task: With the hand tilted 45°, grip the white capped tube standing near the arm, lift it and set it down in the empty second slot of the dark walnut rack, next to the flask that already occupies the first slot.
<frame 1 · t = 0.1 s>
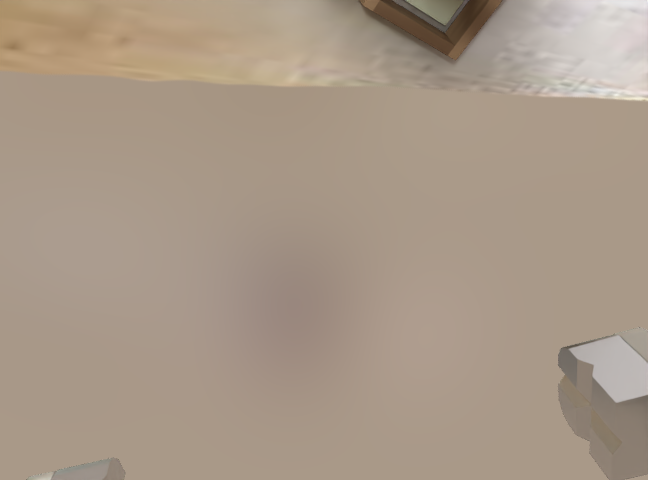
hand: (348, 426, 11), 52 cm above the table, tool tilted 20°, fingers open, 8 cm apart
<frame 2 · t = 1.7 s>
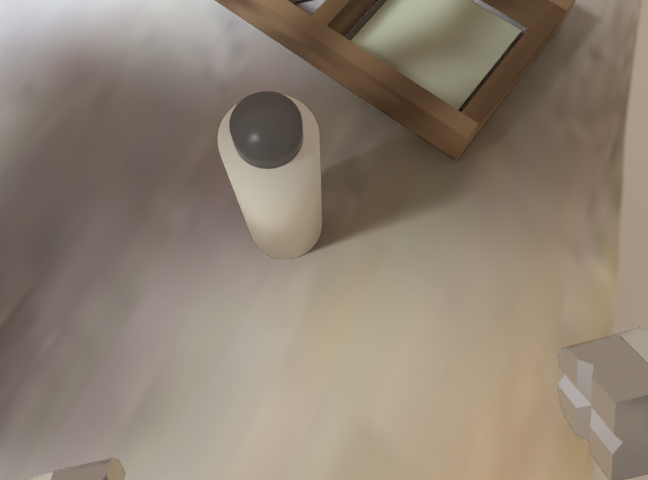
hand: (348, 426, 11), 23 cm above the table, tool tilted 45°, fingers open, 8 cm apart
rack: (364, 1, 41), on the table
white capped tube: (285, 224, 36), on the table
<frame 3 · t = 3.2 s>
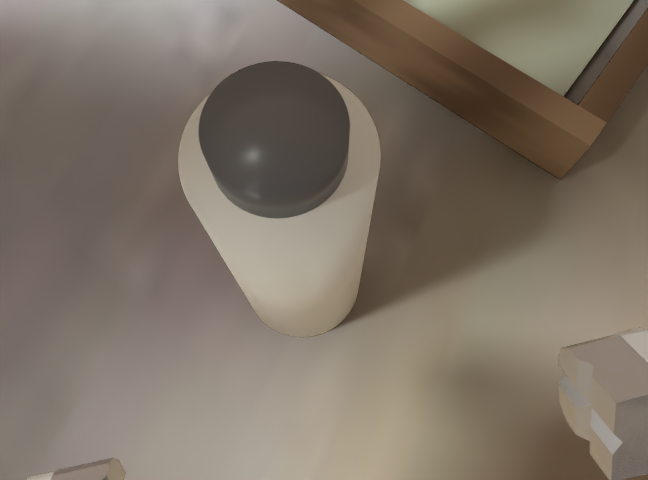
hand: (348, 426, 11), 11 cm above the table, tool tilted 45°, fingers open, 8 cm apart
white capped tube: (302, 281, 23), on the table
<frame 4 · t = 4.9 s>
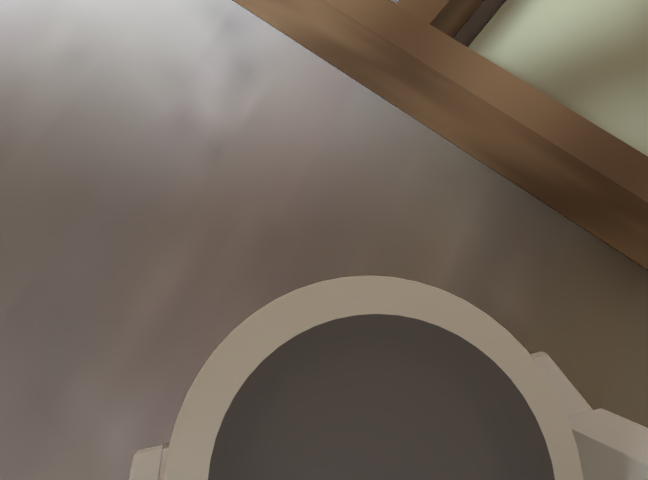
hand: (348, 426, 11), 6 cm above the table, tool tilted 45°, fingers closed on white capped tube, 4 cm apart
white capped tube: (349, 454, 17), on the table, touching gripper
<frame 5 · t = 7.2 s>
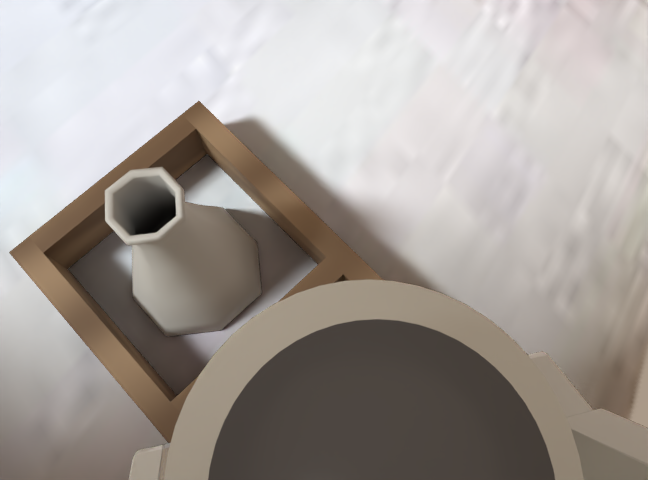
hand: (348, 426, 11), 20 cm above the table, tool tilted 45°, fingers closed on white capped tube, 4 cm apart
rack: (265, 345, 31), on the table
flask: (197, 272, 33), on the table
white capped tube: (349, 456, 17), point 14 cm above the table, touching gripper
when the fingers open (8 cm above the table, at t = 9.9 s): white capped tube drops 1 cm, resting on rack.
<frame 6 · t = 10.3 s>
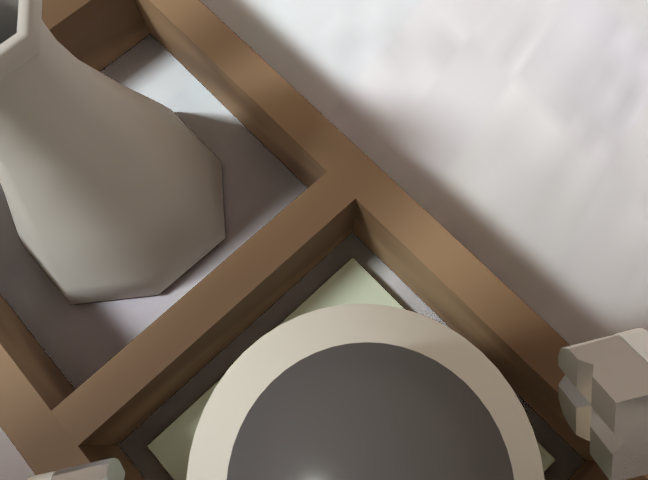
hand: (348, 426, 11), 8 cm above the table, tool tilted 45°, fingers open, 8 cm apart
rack: (229, 319, 19), on the table
flask: (128, 206, 21), on the table
white capped tube: (347, 455, 18), resting on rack
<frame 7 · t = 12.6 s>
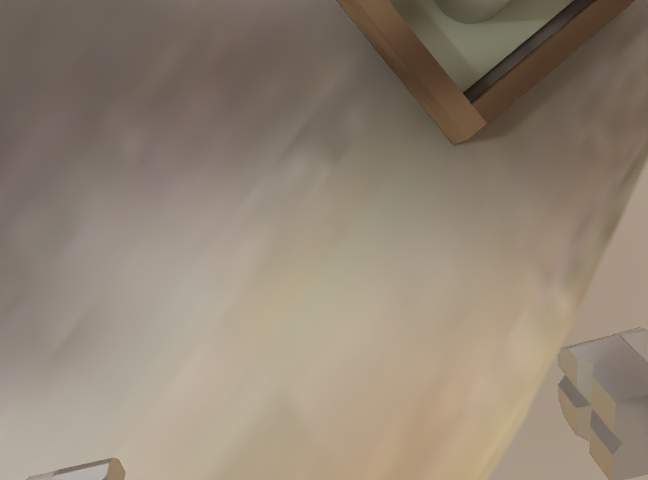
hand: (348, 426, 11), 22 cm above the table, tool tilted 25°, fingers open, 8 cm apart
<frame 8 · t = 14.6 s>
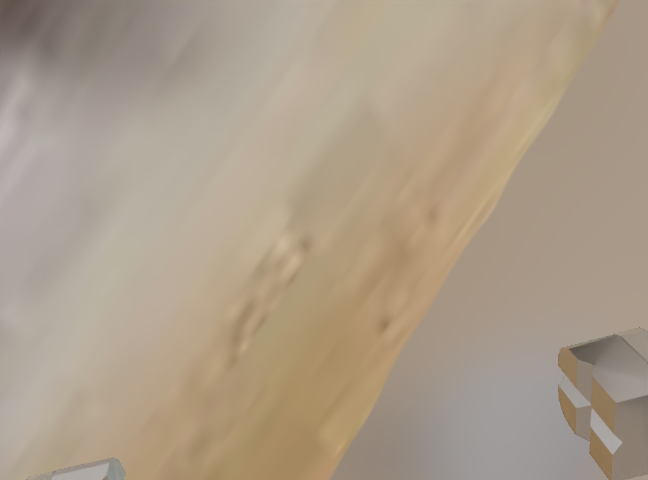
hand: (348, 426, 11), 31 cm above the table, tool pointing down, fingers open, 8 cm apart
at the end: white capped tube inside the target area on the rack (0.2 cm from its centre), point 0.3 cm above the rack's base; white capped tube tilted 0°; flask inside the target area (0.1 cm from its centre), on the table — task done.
